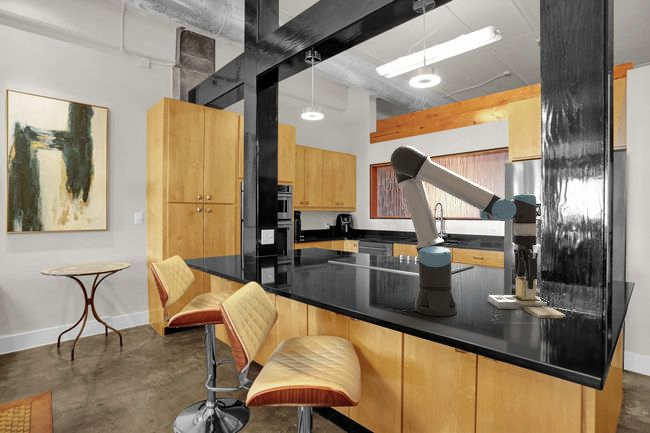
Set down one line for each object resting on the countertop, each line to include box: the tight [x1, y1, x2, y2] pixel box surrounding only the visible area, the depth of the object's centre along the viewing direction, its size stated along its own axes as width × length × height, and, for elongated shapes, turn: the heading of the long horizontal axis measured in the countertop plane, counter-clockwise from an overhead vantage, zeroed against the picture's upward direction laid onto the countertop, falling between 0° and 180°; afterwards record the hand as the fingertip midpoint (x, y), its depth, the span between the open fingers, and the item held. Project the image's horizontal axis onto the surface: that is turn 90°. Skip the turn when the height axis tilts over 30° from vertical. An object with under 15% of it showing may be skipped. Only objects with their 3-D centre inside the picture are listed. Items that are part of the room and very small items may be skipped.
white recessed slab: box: [487, 294, 547, 310], centre depth 130 cm, size 18×10×3 cm, turn 84°
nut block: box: [515, 277, 537, 301], centre depth 129 cm, size 5×5×10 cm
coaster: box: [523, 306, 567, 319], centre depth 119 cm, size 9×9×2 cm
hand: (525, 295), depth 129 cm, fingers closed on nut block, 5 cm apart
